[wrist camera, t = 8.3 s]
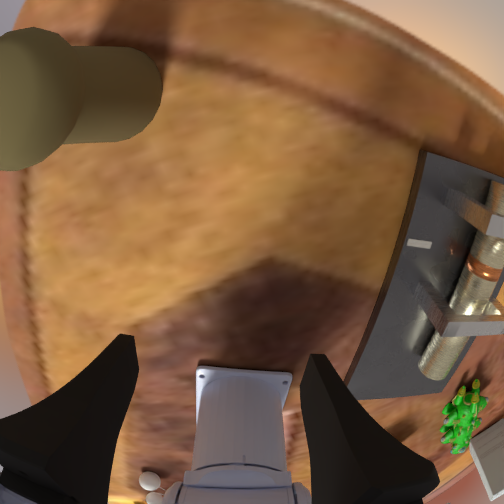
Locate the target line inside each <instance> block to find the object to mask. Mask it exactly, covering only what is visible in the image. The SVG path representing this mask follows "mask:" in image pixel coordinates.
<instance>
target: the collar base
mask: <svg viewBox="0 0 504 504" xmlns="http://www.w3.org/2000/svg"><path fill="white" fill-rule="evenodd" d="M492 180H494V181H497V182H499V183H502V184H504V178H503V177H500V176H498V175H495V174H493V173H490V172H487V171H485V170H482V169H479V168H476V167H474V166H471V165H468V164H465V163H462V162H459V161H456V160H453V159H450V158H447V157H444V156H441V155H437V154H434V153H431V152H427V151H424V150H420V152H419V157H418V161H417V166H416V170H415V175H414V179H413V183H412V187H411V191H410V195H409V199H408V203H407V207H406V211H405V214H404V218H403V222H402V225H401V229H400V232H399V236H398V239H397V242H396V246H395V249H394V252H393V255H392V258H391V261H390V264H389V267H388V270H387V273H386V276H385V279H384V282H383V285H382V288H381V291H380V294H379V296H378V299H377V302H376V305H375V307H374V310H373V312H372V315H371V318H370V320H369V323H368V325H367V328H366V330H365V333H364V335H363V338H362V340H361V343H360V345H359V347H358V350H357V352H356V354H355V357H354V359H353V361H352V364H351V366H350V368H349V370H348V373H347V375H346V377H345V379H344V381H343V382H344V384H345V385H346V386H347V388H348V389H349V390H350V392H351V393H352V394H353V396H354V397H355V398H356V400H367V399H382V398H395V397H406V396H415V395H424V394H432V393H439V392H442V390H443V389H444V387H445V386H446V384H447V383H448V382H449V380H450V379H451V377H452V375H453V374H454V372H455V371H456V369H457V368H458V366H459V365H460V363H461V361H462V360H463V358H464V356H465V355H466V353H467V351H468V350H469V348H470V346H471V345H472V343H473V341H474V339H475V338H476V336H481V335H496V334H504V307H503V305H502V304H501V303H500V302H499V301H498V300H497V299H496V297H497V295H498V293H499V291H500V288H501V286H502V284H503V282H504V268H503V270H502V272H501V275H500V277H499V279H498V281H497V284H496V286H495V288H494V290H493V293H492V295H491V297H490V299H489V301H488V303H487V305H486V307H485V309H484V311H483V313H482V315H457V314H456V313H455V312H454V311H453V309H452V308H451V307H450V305H449V304H448V303H449V301H450V299H451V296H452V294H453V292H454V290H455V287H456V285H457V283H458V280H459V278H460V275H461V273H462V270H463V268H464V265H465V262H466V260H467V257H468V254H469V252H470V249H471V247H472V244H473V241H474V238H475V235H476V232H477V229H479V230H480V231H481V232H483V233H484V234H485V235H490V236H494V237H499V238H503V239H504V215H503V214H500V213H496V212H495V211H493V210H492V209H490V208H488V207H487V206H485V203H486V200H487V196H488V193H489V189H490V185H491V181H492ZM435 330H437V332H438V333H439V335H440V336H441V337H462V336H470V338H469V339H468V341H467V343H466V345H465V346H464V348H463V350H462V352H461V353H460V355H459V357H458V358H457V360H456V362H455V363H454V365H453V366H452V368H451V370H450V371H449V373H448V374H447V376H446V377H445V378H444V379H443V380H432V379H430V378H428V377H426V376H425V375H424V374H423V373H422V372H421V371H420V369H419V366H418V362H419V360H420V358H421V357H422V355H423V353H424V351H425V349H426V347H427V346H428V344H429V342H430V340H431V338H432V336H433V334H434V332H435Z"/></svg>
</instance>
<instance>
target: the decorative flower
mask: <svg viewBox="0 0 504 504" xmlns="http://www.w3.org/2000/svg"><path fill="white" fill-rule="evenodd" d="M139 482H140V485H141V486H142V487H143V488H144V489H145V490H149V491H152V492H151V493H149V494H147V496H146V502H147V504H162V500H163V497H162V496H161V495H160V493H157V492H153V490H156V489H158V488H159V486H160V484H161V480H160V478H159V476H158V475H157V474H156V473H153V472H149V471H146V472H144V473H142V474H141V475H140V477H139ZM160 488H161V487H160ZM163 490H164V489H163ZM165 491H166V490H165ZM163 495H164V494H163Z"/></svg>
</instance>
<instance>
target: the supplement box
mask: <svg viewBox="0 0 504 504" xmlns="http://www.w3.org/2000/svg"><path fill="white" fill-rule="evenodd" d="M470 453H471V455H472V458H473V460H474V462H475V464H476V467H477V469H478V472H479V474H480V476H481V479H482V481H483V484H484V486H485V489H486V491H487V494H488V496H489V499H490V501H493V500H494V499H496V498H497V497H499V496H500V495H502V494H504V418H502V419H501V420H500V421H498V422H497V423H495V424H494V425H492V426H491V427H489V428H488V429H486V430H485V431H483V432H482V433H480V434H478V435H477V436H475V437H474V438H472V439H470Z"/></svg>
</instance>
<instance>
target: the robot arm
mask: <svg viewBox="0 0 504 504" xmlns="http://www.w3.org/2000/svg"><path fill="white" fill-rule="evenodd" d="M138 373H139V366H138V360H137V353H136V347H135V340H134V336H131V335H125V334H119V335H118V336H117V337H116V338H115V339H114V340H113V341H112V342H111V343H110V344H109V345H108V346H107V347H106V348H105V349H104V350H103V351H102V352H101V353H100V354H99V355H98V356H97V357H96V358H95V359H94V360H93V361H92V362H91V363H90V364H89V365H88V366H87V367H86V368H85V369H84V370H83V371H81V372H80V373H79V374H78V375H77V376H76V377H75V378H73V379H72V380H71V381H70V382H68V383H67V384H66V385H65V386H63V387H62V388H60V389H59V390H58V391H56V392H55V393H53V394H52V395H50V396H49V397H47V398H45V399H44V400H42V401H40V402H39V403H37V404H35V405H33V406H31V407H29V408H27V409H25V410H23V411H21V412H18V413H16V414H13V415H11V416H8V417H5V418H2V419H0V464H1V466H3V471H2V473H1V472H0V504H107V503H108V491H109V483H110V476H111V470H112V464H113V458H114V453H115V448H116V443H117V439H118V436H119V432H120V429H121V426H122V423H123V421H124V418H125V415H126V412H127V410H128V407H129V404H130V401H131V398H132V396H133V393H134V390H135V386H136V382H137V377H138ZM201 374H202V375H201ZM284 381H285V382H284ZM291 382H292V374H291V373H288V372H271V371H256V370H242V369H231V368H220V367H211V366H198V367H197V369H196V425H197V427H196V435H195V443H194V451H193V459H192V468H191V471H185V474H184V482H180V481H177V482H175V483H174V484H173V485H172V486H171V487H169V488H168V489H167V491H166V492H165V494H164V497H163V500H162V504H423V501H422V498H423V497H425V496H426V495H427V494H429V493H430V492H431V491H433V490H434V489H435V488H436V487H437V486H438V484H439V483H440V480H439V477H438V473H437V470H436V468H435V466H434V464H433V462H431V461H429V460H427V459H425V458H424V457H422V456H420V455H418V454H417V453H415V452H413V451H412V450H410V449H409V448H408V447H406V446H405V445H403V444H402V443H400V442H399V441H398V440H397V439H395V438H394V437H393V436H392V435H390V434H389V433H388V432H387V431H386V430H385V429H383V428H382V427H381V426H380V425H379V424H378V423H377V422H376V421H375V420H374V419H373V418H372V417H371V416H370V415H369V414H368V413H367V411H366V410H365V409H364V408H363V407H362V406H361V404H360V403H359V402H358V401H357V400H356V398H355V397H354V396H353V394H352V393H351V392H350V390H349V389H348V388H347V386H346V385H345V384H344V382H343V381H342V379H341V378H340V376H339V375H338V373H337V372H336V370H335V369H334V367H333V366H332V364H331V363H330V361H329V360H328V358H327V356H326V355H325V354H310V357H309V360H308V363H307V366H306V369H305V372H304V375H303V378H302V381H301V384H300V400H301V410H302V416H303V421H304V426H305V432H306V437H307V443H308V448H309V455H310V467H311V493H312V499H311V495H310V492H309V490H308V489H307V488H306V487H304V486H303V485H302V483H300V482H296V483H292V480H291V472H290V471H287V464H286V452H285V440H284V428H283V417H282V409H283V406H284V403H285V400H286V397H287V394H288V391H289V388H290V385H291ZM447 504H450V503H447Z"/></svg>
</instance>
